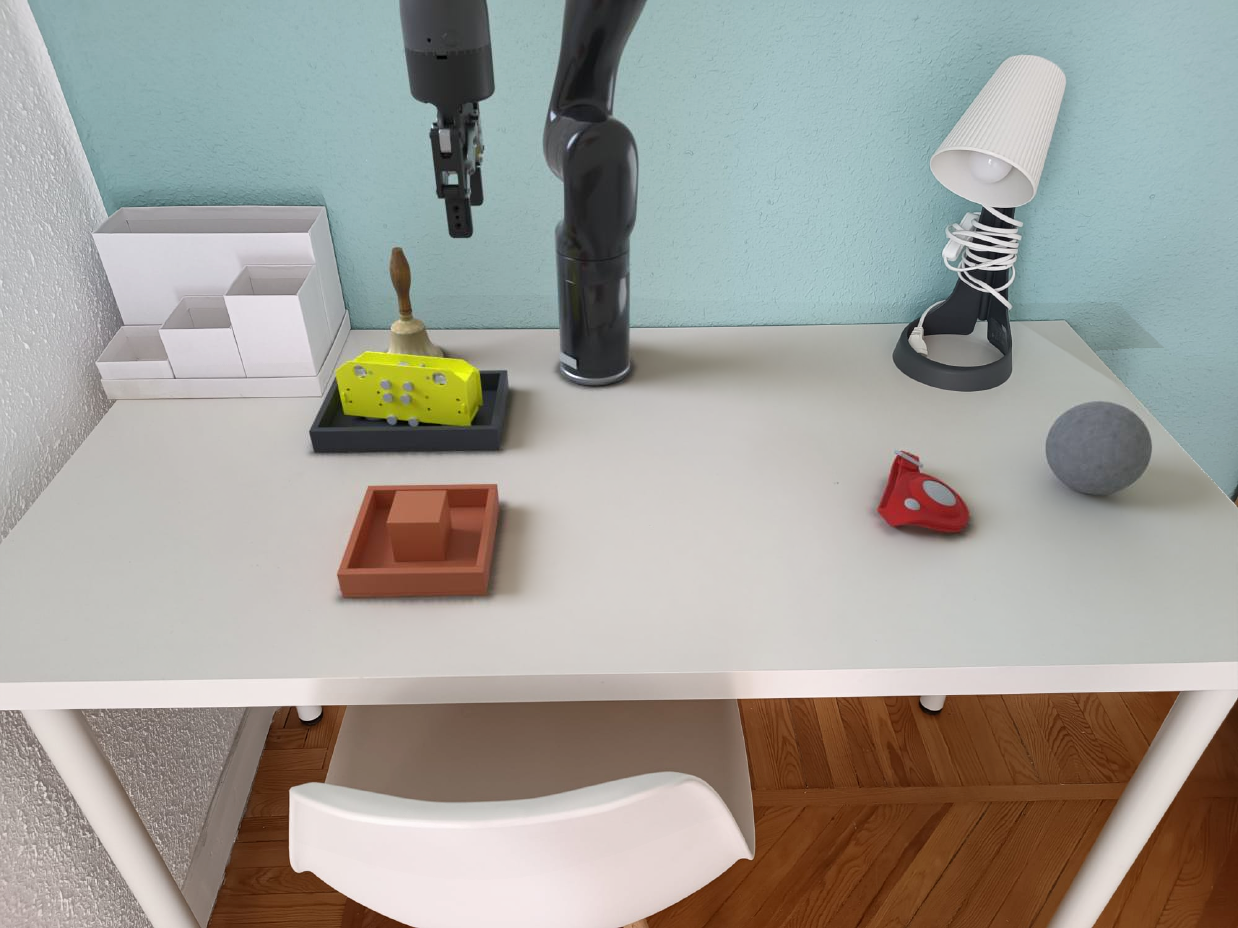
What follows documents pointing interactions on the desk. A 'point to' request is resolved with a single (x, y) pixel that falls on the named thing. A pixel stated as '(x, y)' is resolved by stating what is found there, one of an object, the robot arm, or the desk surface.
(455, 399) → the yellow toy chassis
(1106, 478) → the decorative ball
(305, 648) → the desk surface
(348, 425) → the charcoal tray
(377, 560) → the terracotta tray
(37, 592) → the desk surface
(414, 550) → the terracotta block
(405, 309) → the hand bell
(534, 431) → the desk surface
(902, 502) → the tracker holder
